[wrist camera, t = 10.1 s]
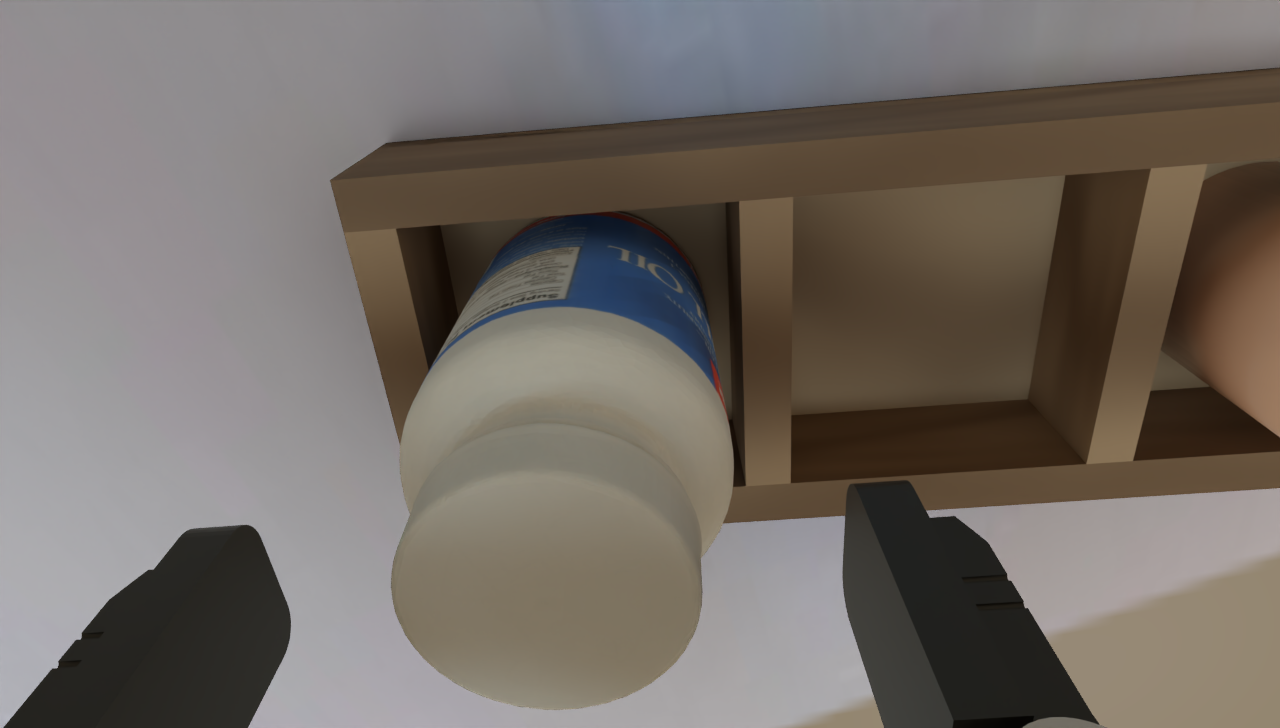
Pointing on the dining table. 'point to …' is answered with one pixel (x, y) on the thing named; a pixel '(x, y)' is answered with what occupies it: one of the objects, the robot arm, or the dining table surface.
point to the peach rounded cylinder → (1233, 291)
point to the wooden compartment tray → (879, 279)
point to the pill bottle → (565, 469)
